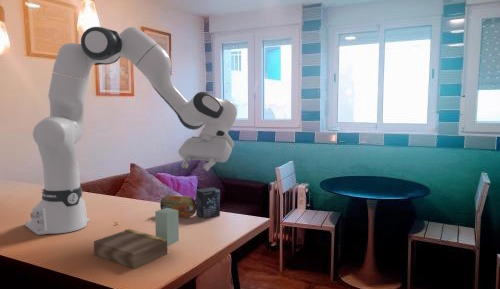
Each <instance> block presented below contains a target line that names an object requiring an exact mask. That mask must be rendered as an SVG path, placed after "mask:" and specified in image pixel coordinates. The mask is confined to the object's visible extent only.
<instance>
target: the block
mask: <svg viewBox="0 0 500 289" xmlns="http://www.w3.org/2000/svg"><path fill="white" fill-rule="evenodd" d="M154 212H155V213H154V214H155V216H154V217H155V219H154V220H155V236H156V237H160V238H164V239H167V247H168V246H170V244H171V245H172V244H175V243H177V241H178V242H179V237H180V236H179V231H180V230H179V227H180V226H179V222H180V221H179V218H178V210H175V209H170V208H165V209H162V210H161V209H159V210H156V211H154Z"/></svg>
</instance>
